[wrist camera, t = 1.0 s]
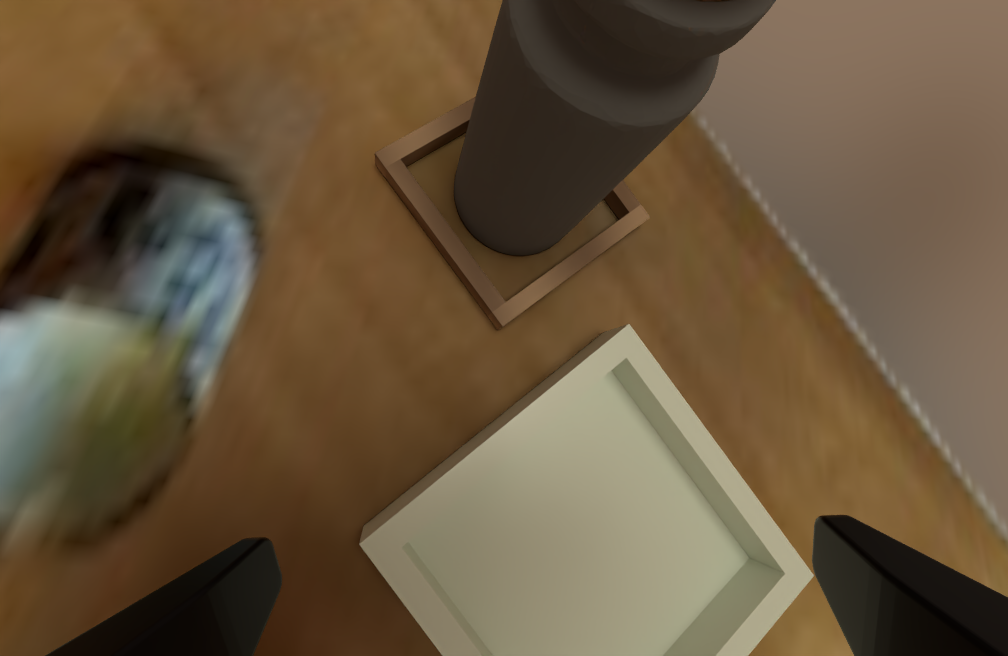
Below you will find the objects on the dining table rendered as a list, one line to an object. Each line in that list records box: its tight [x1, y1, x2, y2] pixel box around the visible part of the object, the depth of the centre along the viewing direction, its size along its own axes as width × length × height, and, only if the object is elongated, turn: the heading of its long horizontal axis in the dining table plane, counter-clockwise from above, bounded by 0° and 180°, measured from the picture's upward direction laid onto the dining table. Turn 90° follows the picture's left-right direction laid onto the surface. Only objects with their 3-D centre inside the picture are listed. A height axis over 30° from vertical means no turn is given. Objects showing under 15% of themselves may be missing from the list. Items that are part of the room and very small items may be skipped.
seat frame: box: [375, 97, 650, 330], centre depth 21 cm, size 9×9×1 cm
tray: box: [359, 324, 814, 656], centre depth 19 cm, size 13×13×2 cm
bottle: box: [454, 0, 776, 255], centre depth 15 cm, size 6×6×15 cm
